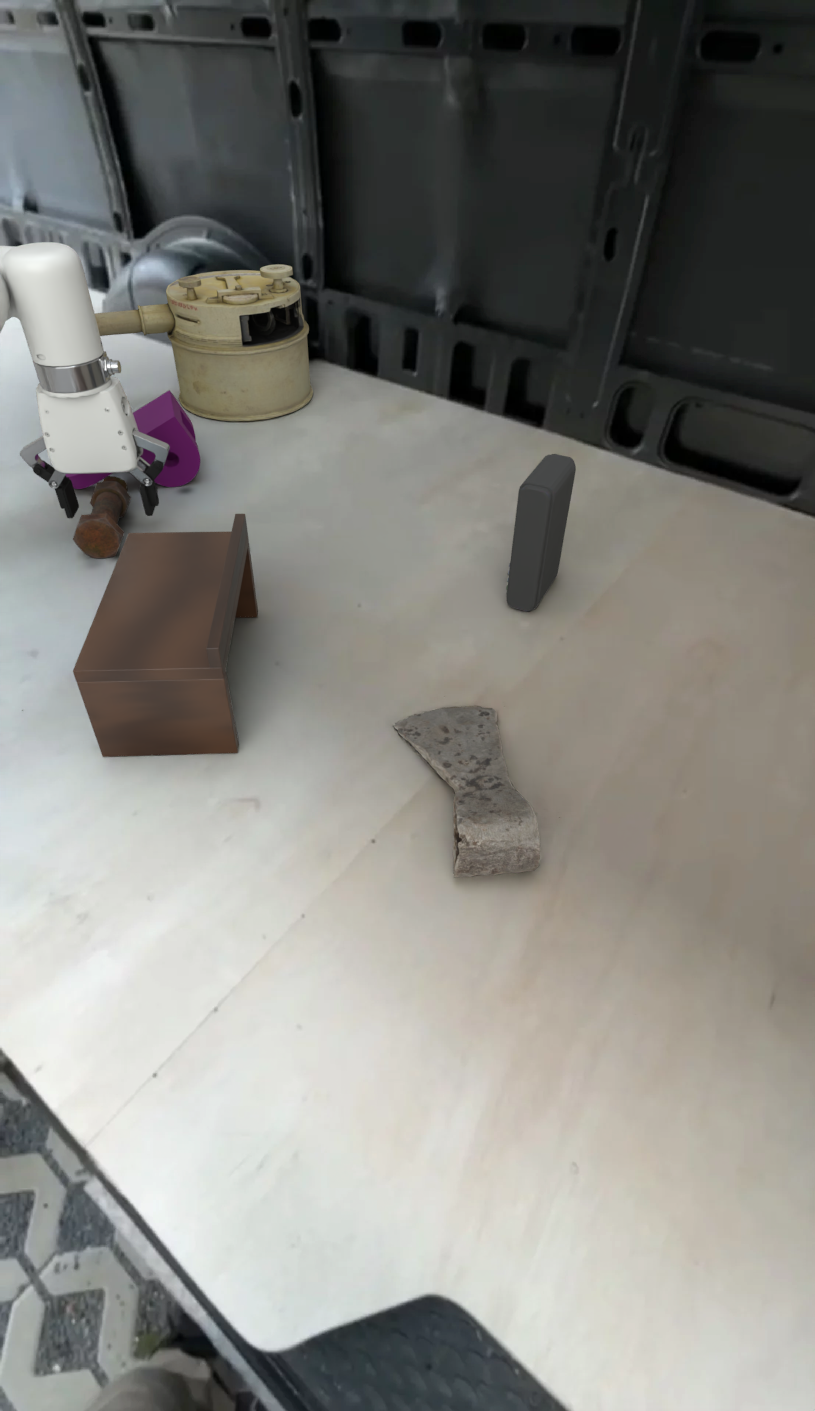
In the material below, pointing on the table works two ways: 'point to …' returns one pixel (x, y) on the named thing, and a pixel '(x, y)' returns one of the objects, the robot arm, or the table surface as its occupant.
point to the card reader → (539, 531)
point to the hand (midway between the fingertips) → (112, 511)
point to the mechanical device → (231, 341)
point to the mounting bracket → (170, 427)
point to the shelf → (167, 644)
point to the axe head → (477, 790)
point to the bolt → (103, 519)
